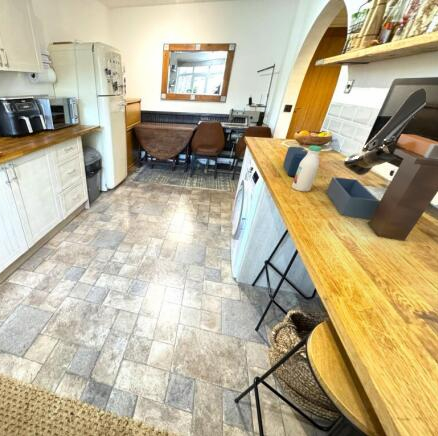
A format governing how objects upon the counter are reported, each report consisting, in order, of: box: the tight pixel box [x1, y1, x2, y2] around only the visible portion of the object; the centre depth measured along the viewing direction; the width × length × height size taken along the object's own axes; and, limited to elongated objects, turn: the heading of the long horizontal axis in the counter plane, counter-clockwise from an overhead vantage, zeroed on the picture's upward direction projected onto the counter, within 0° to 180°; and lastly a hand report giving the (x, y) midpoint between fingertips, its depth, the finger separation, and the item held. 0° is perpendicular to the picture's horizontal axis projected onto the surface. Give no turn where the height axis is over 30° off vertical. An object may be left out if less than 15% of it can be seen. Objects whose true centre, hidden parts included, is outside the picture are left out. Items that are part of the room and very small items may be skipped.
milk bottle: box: [291, 145, 322, 193], centre depth 109 cm, size 8×8×20 cm
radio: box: [282, 137, 308, 178], centre depth 130 cm, size 21×9×20 cm, turn 162°
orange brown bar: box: [396, 133, 438, 159], centre depth 74 cm, size 18×4×4 cm, turn 159°
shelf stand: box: [367, 149, 438, 242], centre depth 77 cm, size 10×12×26 cm
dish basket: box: [325, 176, 380, 220], centre depth 98 cm, size 9×23×8 cm, turn 159°
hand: (411, 139), depth 78 cm, fingers open, 8 cm apart
